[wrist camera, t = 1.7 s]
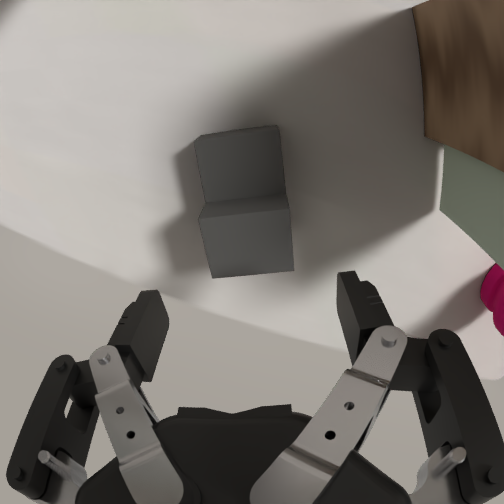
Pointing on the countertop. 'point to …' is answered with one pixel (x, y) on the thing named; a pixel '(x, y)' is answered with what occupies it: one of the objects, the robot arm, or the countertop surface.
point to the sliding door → (474, 200)
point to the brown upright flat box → (463, 75)
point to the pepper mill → (494, 295)
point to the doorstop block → (244, 202)
